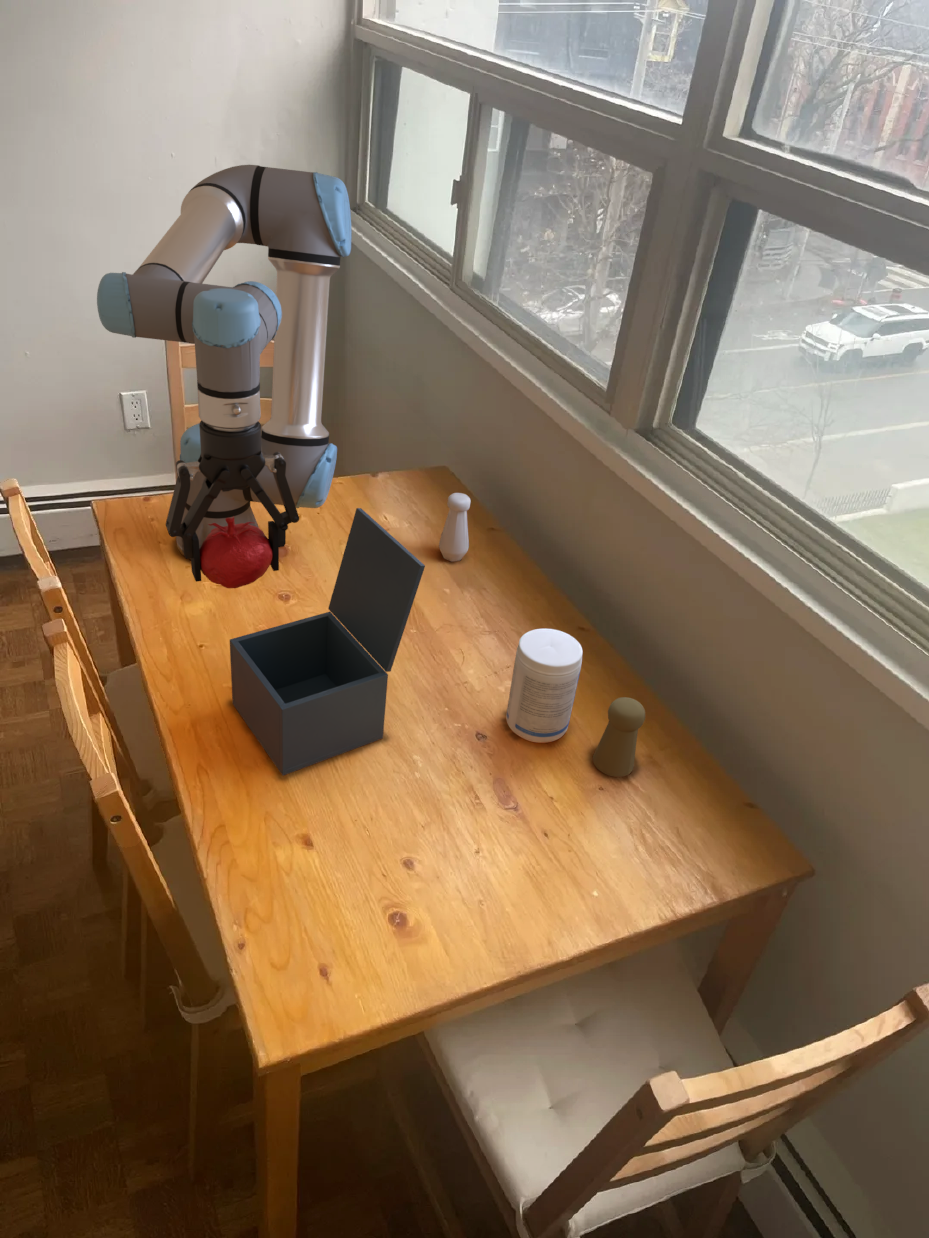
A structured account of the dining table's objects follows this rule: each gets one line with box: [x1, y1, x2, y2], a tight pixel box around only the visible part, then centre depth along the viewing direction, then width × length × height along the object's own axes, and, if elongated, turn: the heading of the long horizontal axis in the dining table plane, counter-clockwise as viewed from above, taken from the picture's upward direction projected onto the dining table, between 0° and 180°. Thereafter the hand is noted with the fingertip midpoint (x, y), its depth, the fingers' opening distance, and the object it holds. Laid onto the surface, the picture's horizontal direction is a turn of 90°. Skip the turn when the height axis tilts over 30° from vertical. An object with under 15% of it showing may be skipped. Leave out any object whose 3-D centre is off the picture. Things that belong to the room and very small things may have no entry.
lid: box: [327, 507, 426, 673], centre depth 125 cm, size 17×17×1 cm
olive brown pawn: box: [592, 696, 646, 778], centre depth 129 cm, size 6×6×11 cm
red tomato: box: [199, 516, 273, 589], centre depth 124 cm, size 10×10×9 cm
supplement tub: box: [505, 628, 584, 744], centre depth 133 cm, size 10×10×15 cm
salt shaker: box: [438, 492, 472, 563], centre depth 171 cm, size 6×6×13 cm
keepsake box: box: [229, 611, 389, 777], centre depth 128 cm, size 16×17×12 cm
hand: (235, 571), depth 126 cm, fingers closed on red tomato, 10 cm apart
